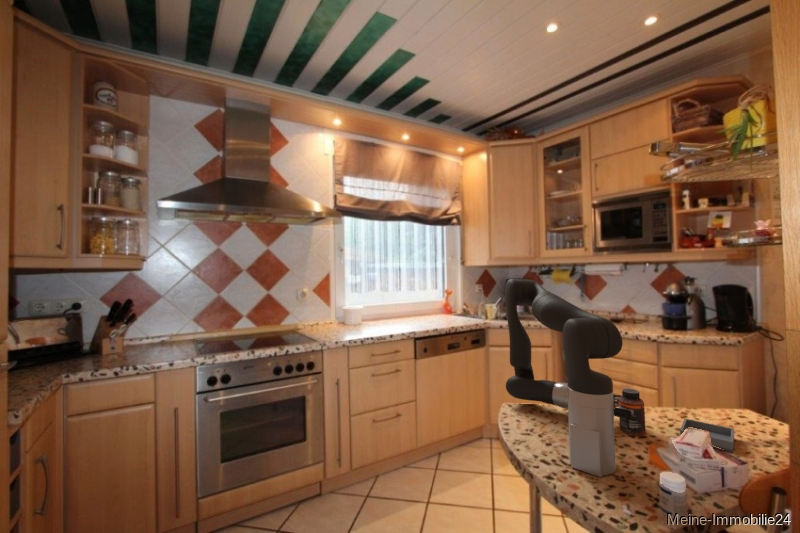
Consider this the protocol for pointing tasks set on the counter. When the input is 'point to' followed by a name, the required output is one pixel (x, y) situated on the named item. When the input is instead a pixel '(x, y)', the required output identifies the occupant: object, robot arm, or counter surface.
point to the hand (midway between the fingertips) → (634, 410)
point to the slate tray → (713, 433)
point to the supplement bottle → (632, 413)
